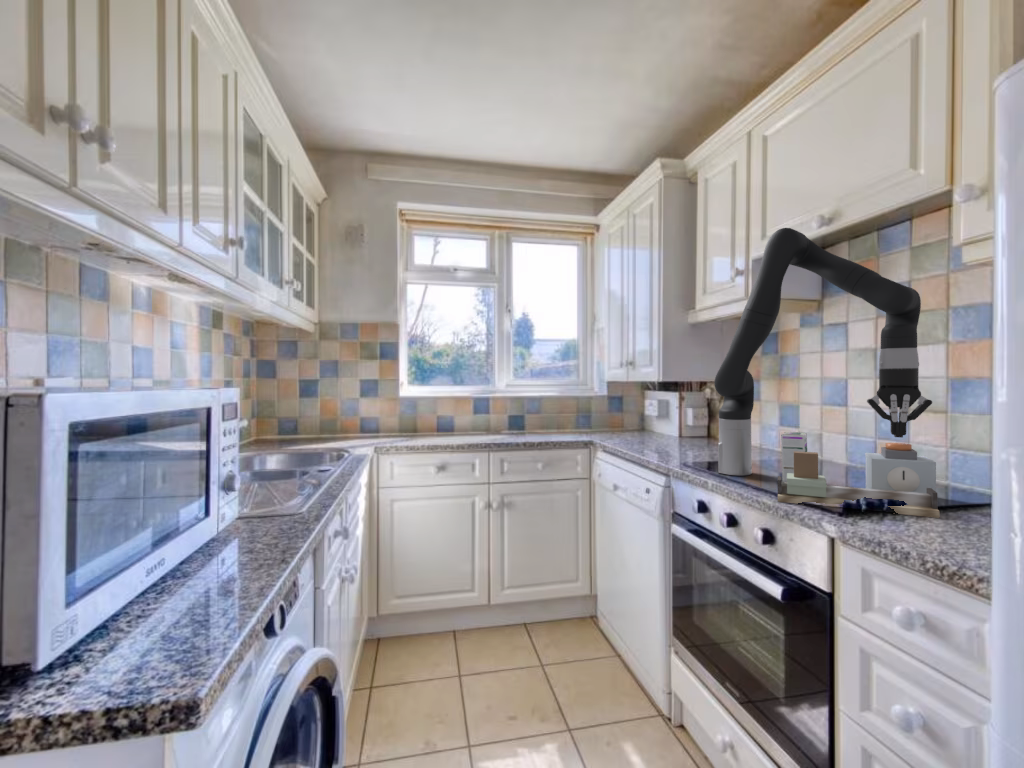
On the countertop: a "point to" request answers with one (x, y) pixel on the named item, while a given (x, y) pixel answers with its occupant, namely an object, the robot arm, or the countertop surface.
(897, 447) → the button
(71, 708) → the countertop surface
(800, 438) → the syrup box
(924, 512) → the rail base
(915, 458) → the gauge cabinet
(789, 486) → the brown block on pedestal
